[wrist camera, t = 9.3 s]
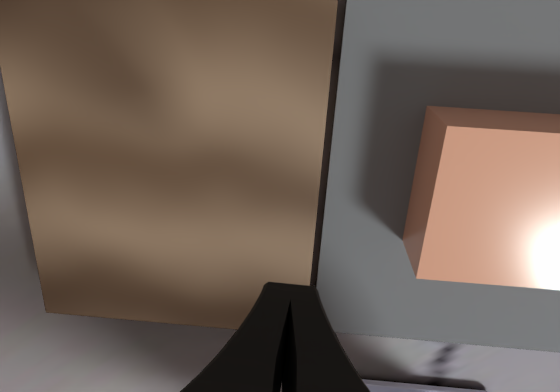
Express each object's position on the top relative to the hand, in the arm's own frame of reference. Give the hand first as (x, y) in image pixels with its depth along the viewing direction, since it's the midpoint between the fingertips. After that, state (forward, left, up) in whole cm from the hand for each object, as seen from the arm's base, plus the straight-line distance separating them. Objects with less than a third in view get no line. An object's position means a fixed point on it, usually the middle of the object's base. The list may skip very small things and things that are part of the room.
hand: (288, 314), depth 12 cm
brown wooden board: (+1, +5, -9) cm, 10 cm away
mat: (+1, -9, -9) cm, 12 cm away
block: (+1, -9, -8) cm, 12 cm away
